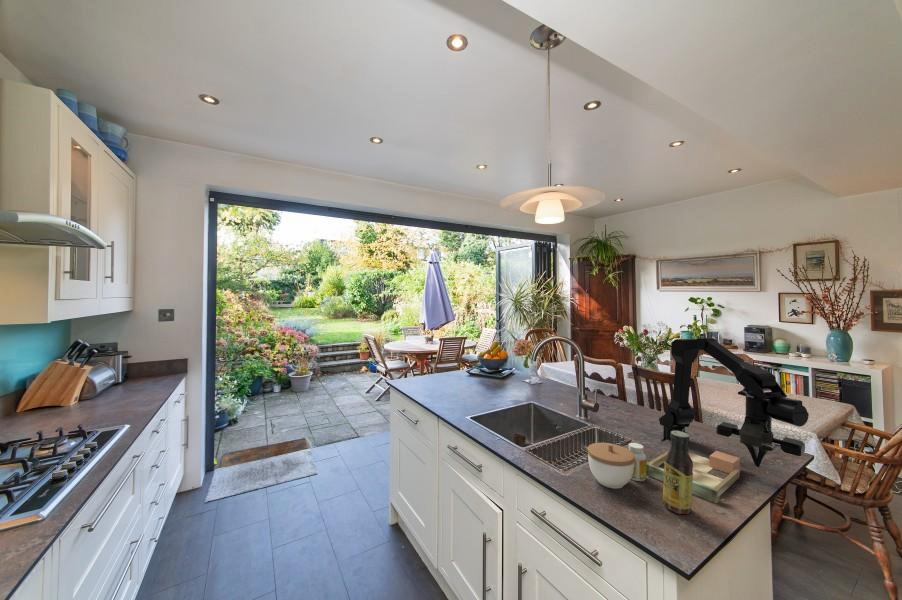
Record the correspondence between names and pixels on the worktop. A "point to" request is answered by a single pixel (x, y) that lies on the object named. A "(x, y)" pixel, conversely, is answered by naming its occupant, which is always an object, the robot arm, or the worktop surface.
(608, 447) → the lidded bowl
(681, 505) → the sauce bottle
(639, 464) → the supplement bottle
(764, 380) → the robot arm
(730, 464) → the block
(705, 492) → the box
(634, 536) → the worktop surface
